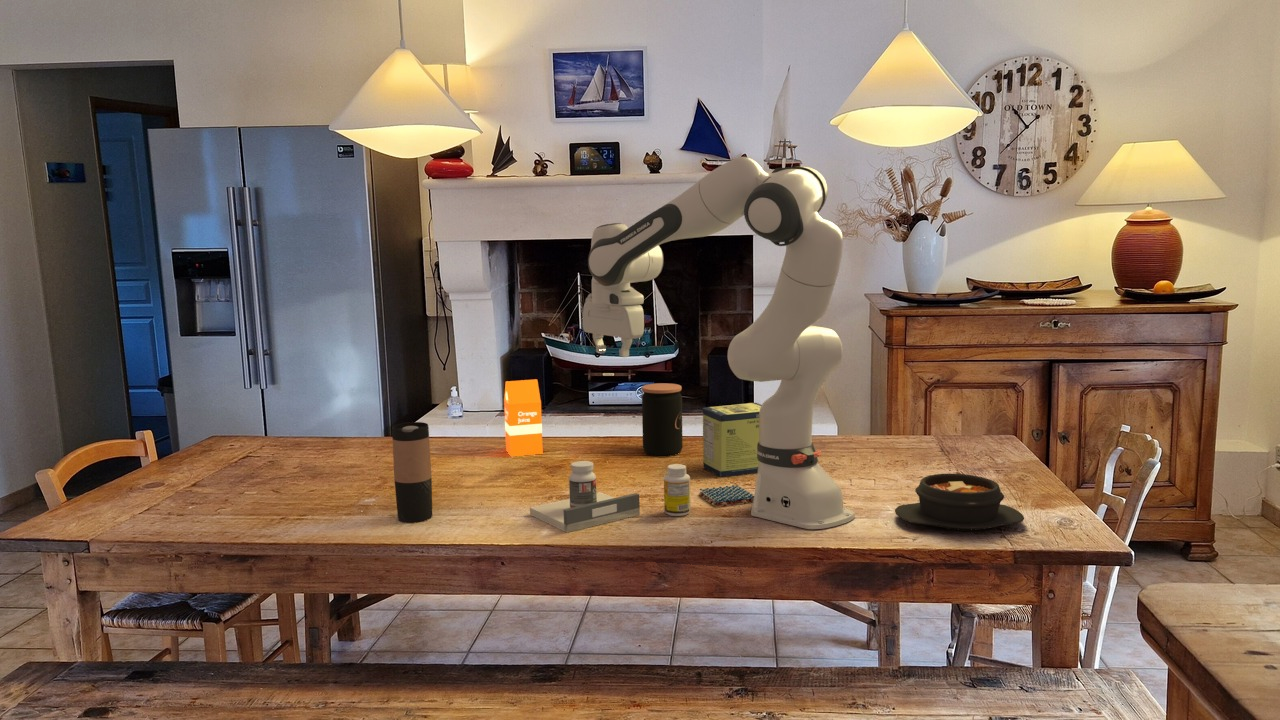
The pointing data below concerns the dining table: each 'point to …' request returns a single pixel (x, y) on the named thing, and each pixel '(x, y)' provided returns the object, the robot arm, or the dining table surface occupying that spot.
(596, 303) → the robot arm
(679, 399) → the coffee jar
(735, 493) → the woven mat
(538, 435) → the orange juice
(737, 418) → the protein box
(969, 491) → the casserole
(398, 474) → the travel mug
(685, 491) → the supplement bottle
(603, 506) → the shelf
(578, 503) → the pill bottle
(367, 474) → the dining table surface
